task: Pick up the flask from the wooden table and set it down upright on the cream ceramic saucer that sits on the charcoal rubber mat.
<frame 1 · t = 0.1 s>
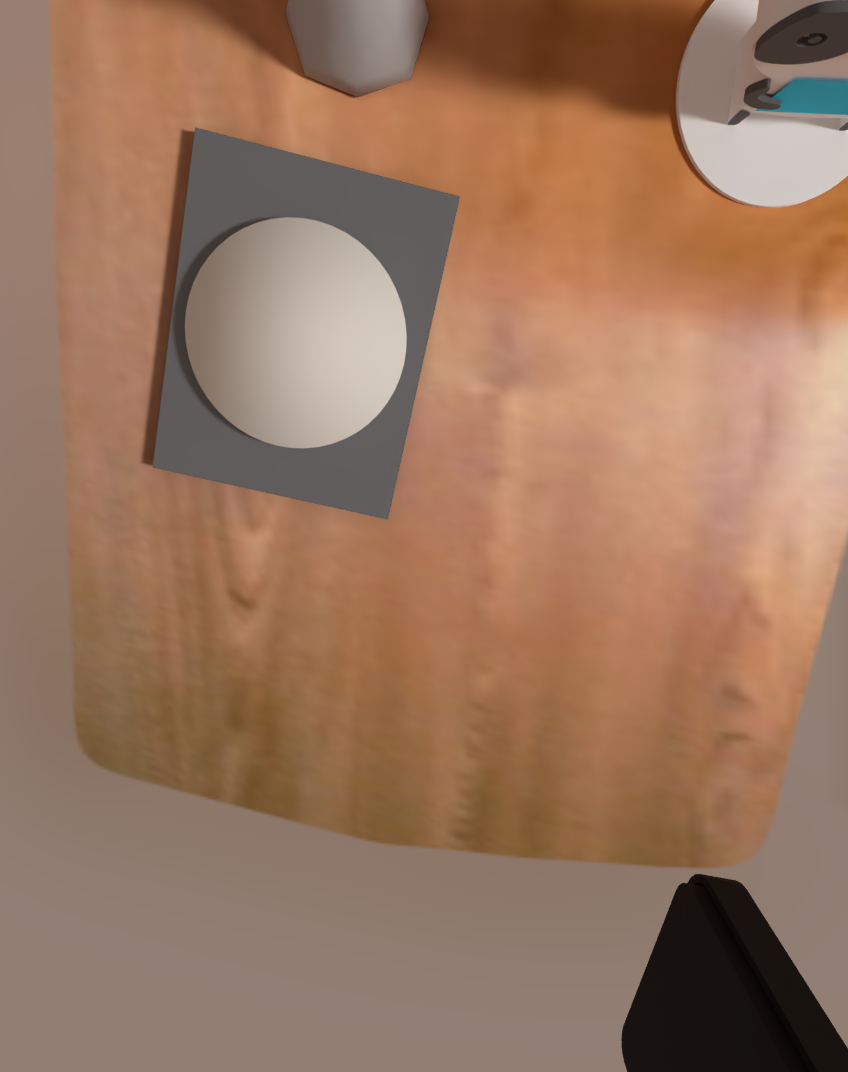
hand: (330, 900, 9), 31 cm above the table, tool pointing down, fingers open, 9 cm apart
flask: (358, 19, 33), on the table
saucer mat: (301, 339, 36), on the table
white upright piece: (775, 90, 34), on the table
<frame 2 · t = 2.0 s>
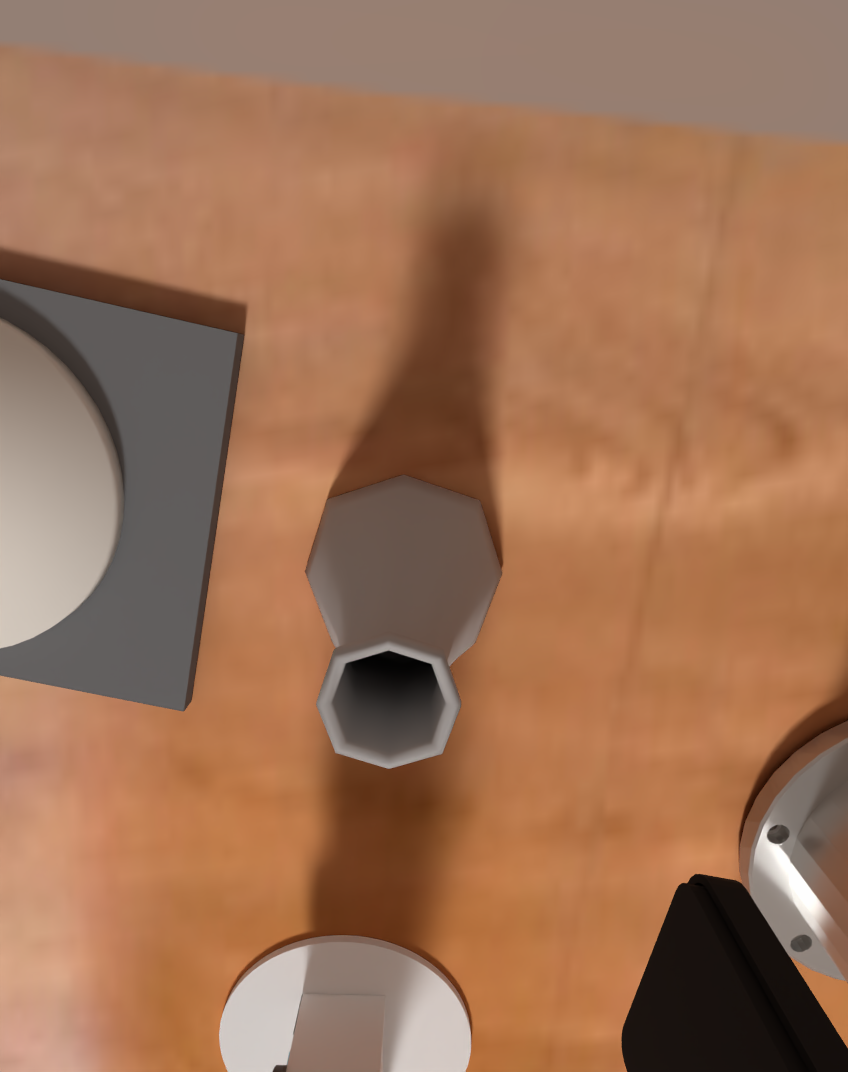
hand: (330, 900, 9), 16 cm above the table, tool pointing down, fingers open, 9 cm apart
flask: (404, 568, 24), on the table
white upright piece: (346, 1026, 29), on the table
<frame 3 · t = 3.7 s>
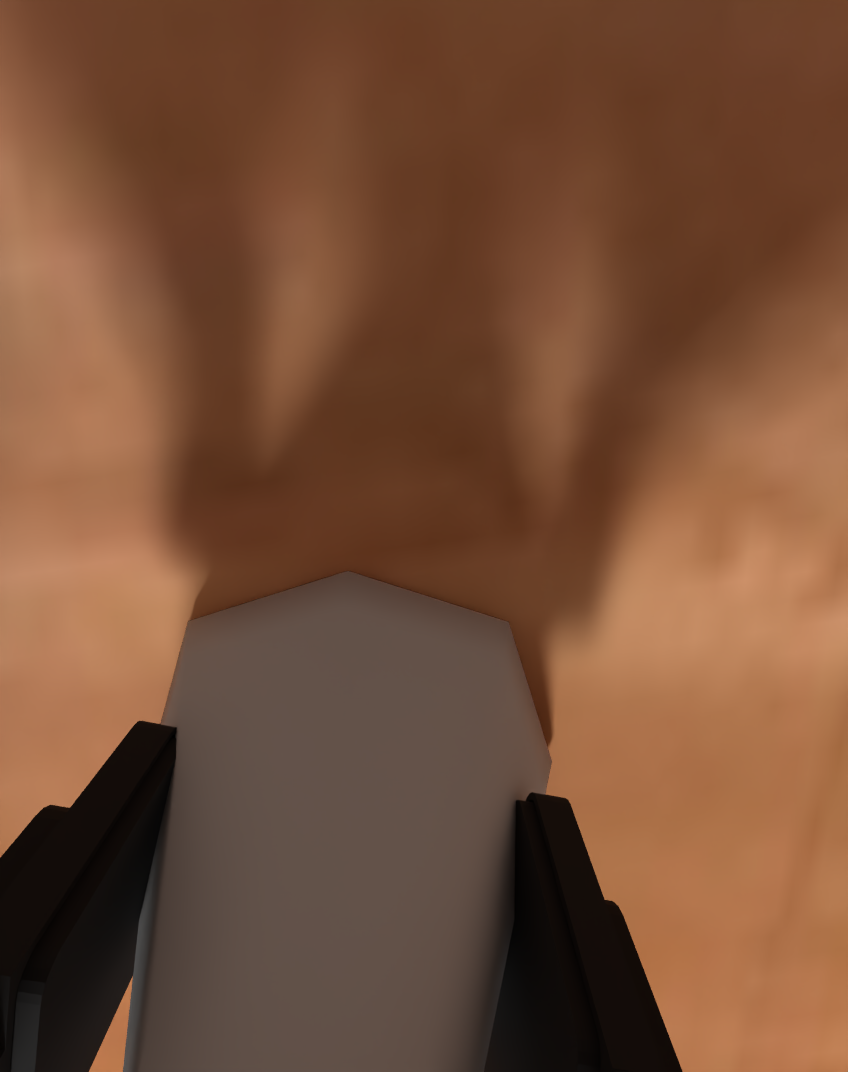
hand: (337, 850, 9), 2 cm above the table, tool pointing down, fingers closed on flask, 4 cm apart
flask: (354, 746, 12), on the table, touching gripper
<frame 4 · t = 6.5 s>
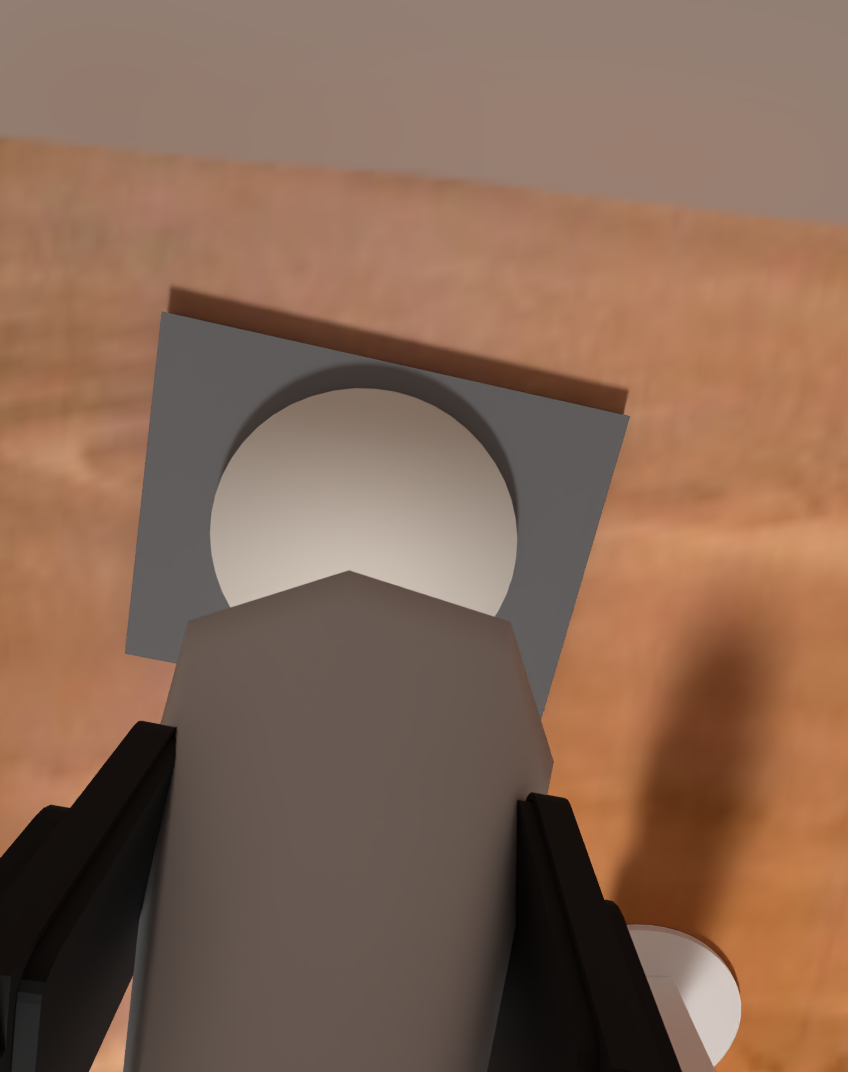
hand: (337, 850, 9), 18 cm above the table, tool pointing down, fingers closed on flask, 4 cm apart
flask: (355, 746, 12), point 15 cm above the table, touching gripper
saucer mat: (367, 535, 27), on the table
white upright piece: (627, 1004, 33), on the table
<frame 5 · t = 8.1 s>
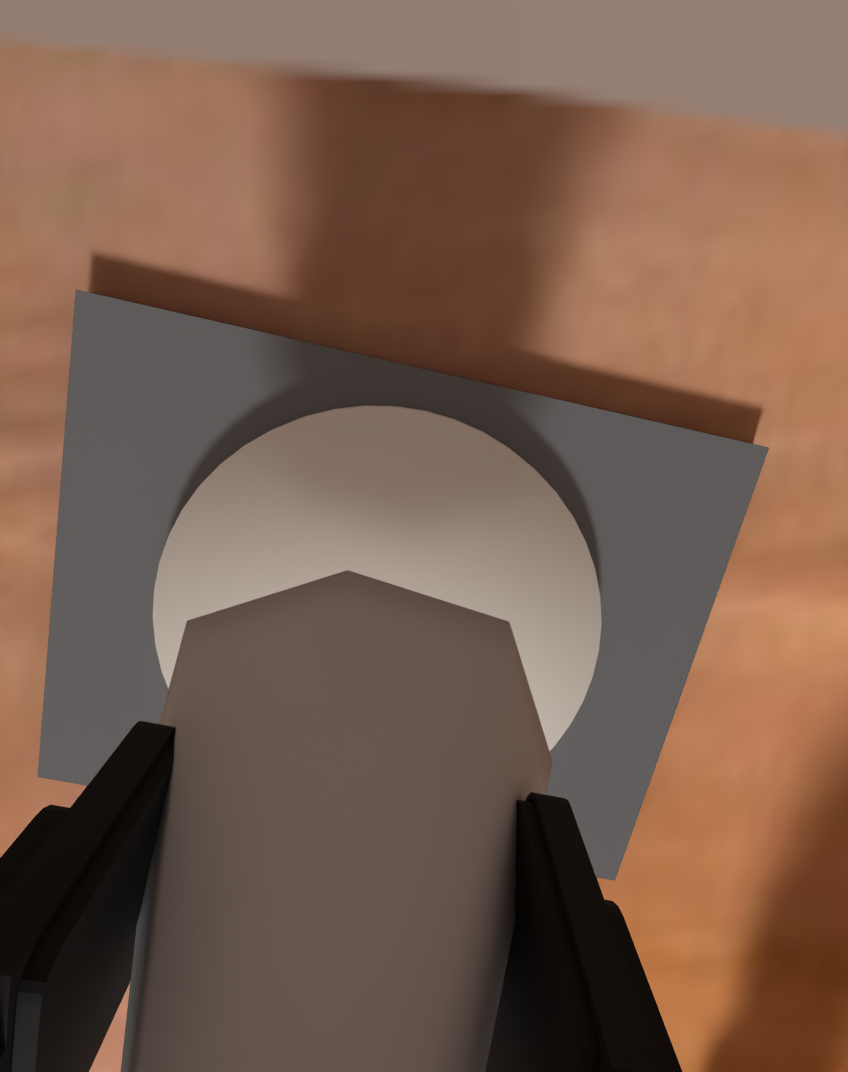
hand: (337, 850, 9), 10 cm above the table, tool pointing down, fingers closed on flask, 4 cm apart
flask: (354, 746, 12), point 7 cm above the table, touching gripper
saucer mat: (381, 612, 19), on the table
when the fingers open (5 cm above the table, at t = 9.3 s): flask drops 1 cm, resting on saucer mat.
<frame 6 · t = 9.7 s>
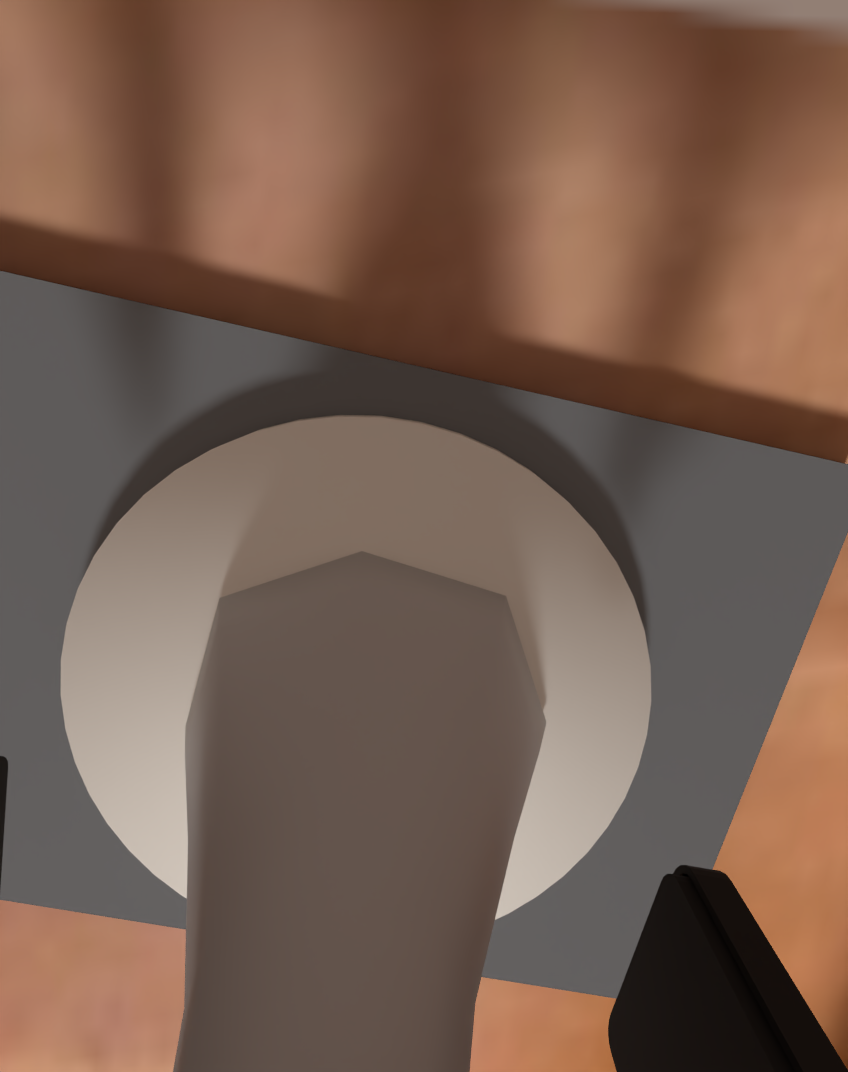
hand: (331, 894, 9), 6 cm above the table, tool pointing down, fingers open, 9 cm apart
flask: (368, 711, 13), point 1 cm above the table, touching saucer mat
saucer mat: (364, 678, 15), on the table
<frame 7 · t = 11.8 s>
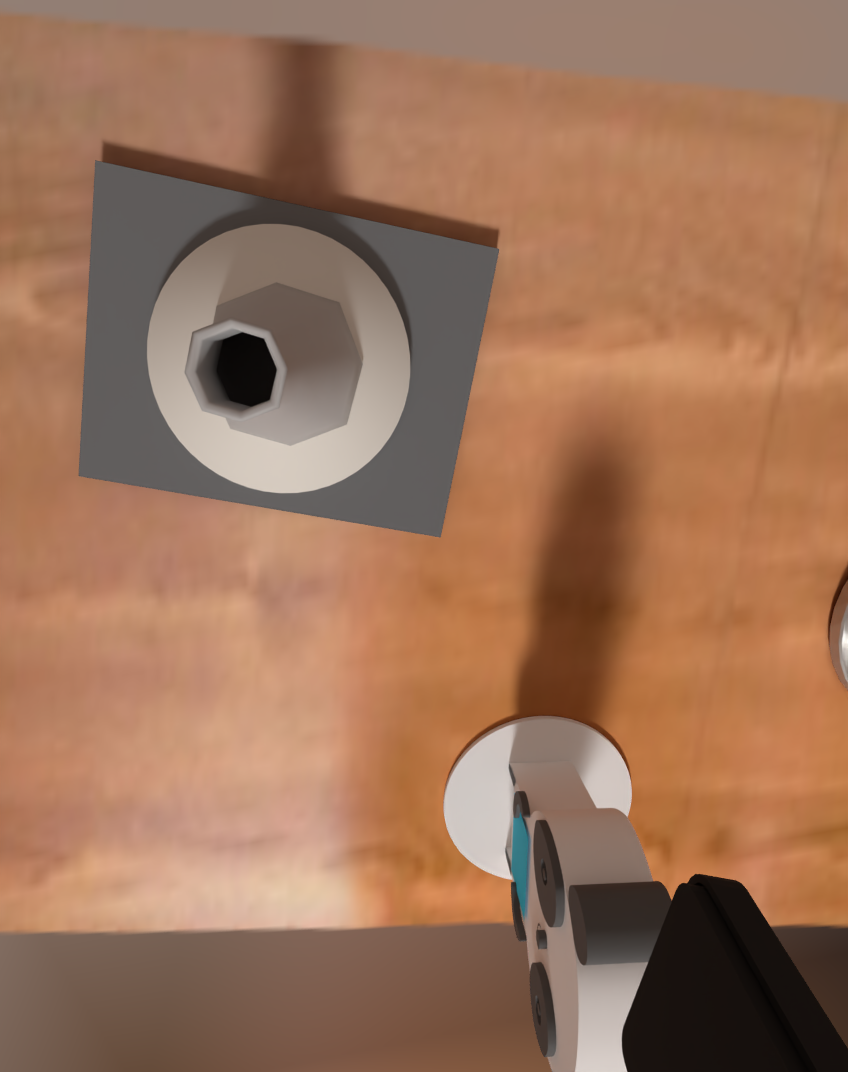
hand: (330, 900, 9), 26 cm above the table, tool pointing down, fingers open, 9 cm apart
flask: (285, 366, 30), point 1 cm above the table, touching saucer mat
saucer mat: (285, 365, 31), on the table
white upright piece: (536, 792, 39), on the table
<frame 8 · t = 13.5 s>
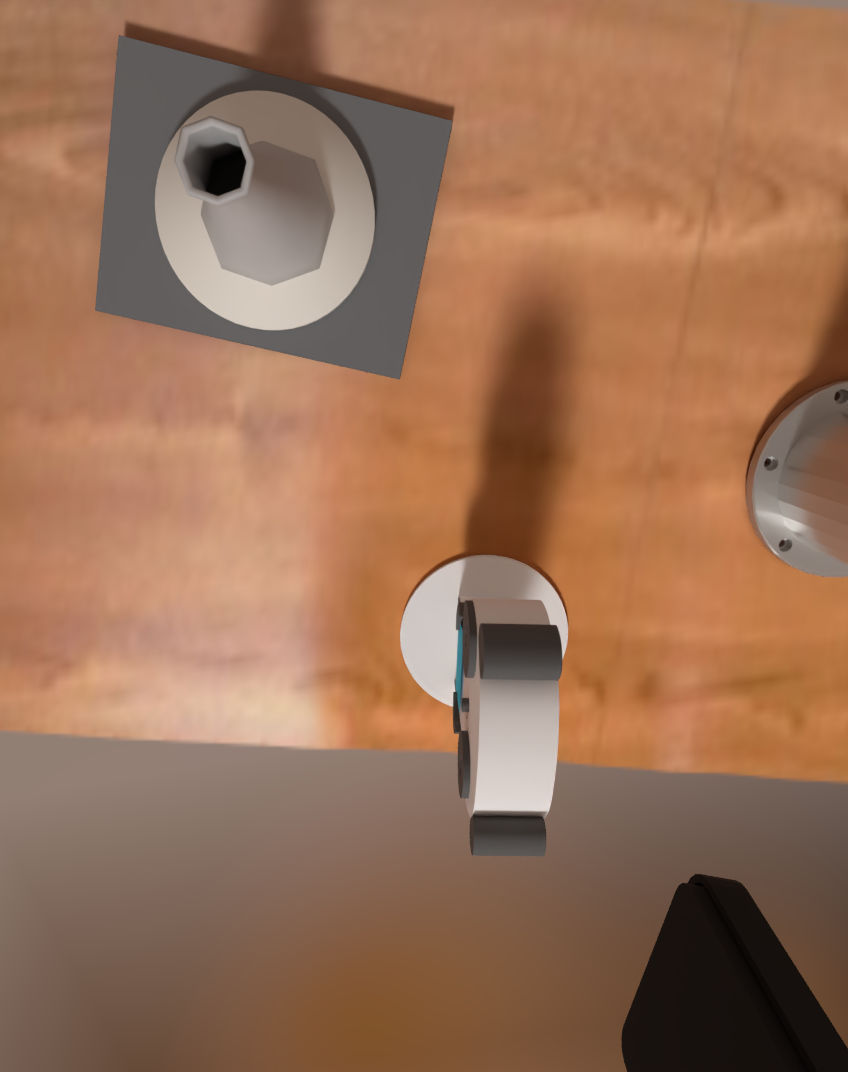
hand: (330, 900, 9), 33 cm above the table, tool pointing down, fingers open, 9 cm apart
flask: (269, 217, 35), point 1 cm above the table, touching saucer mat
saucer mat: (271, 221, 37), on the table
white upright piece: (483, 628, 44), on the table
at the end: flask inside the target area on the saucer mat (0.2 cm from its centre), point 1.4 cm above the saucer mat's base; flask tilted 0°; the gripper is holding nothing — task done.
